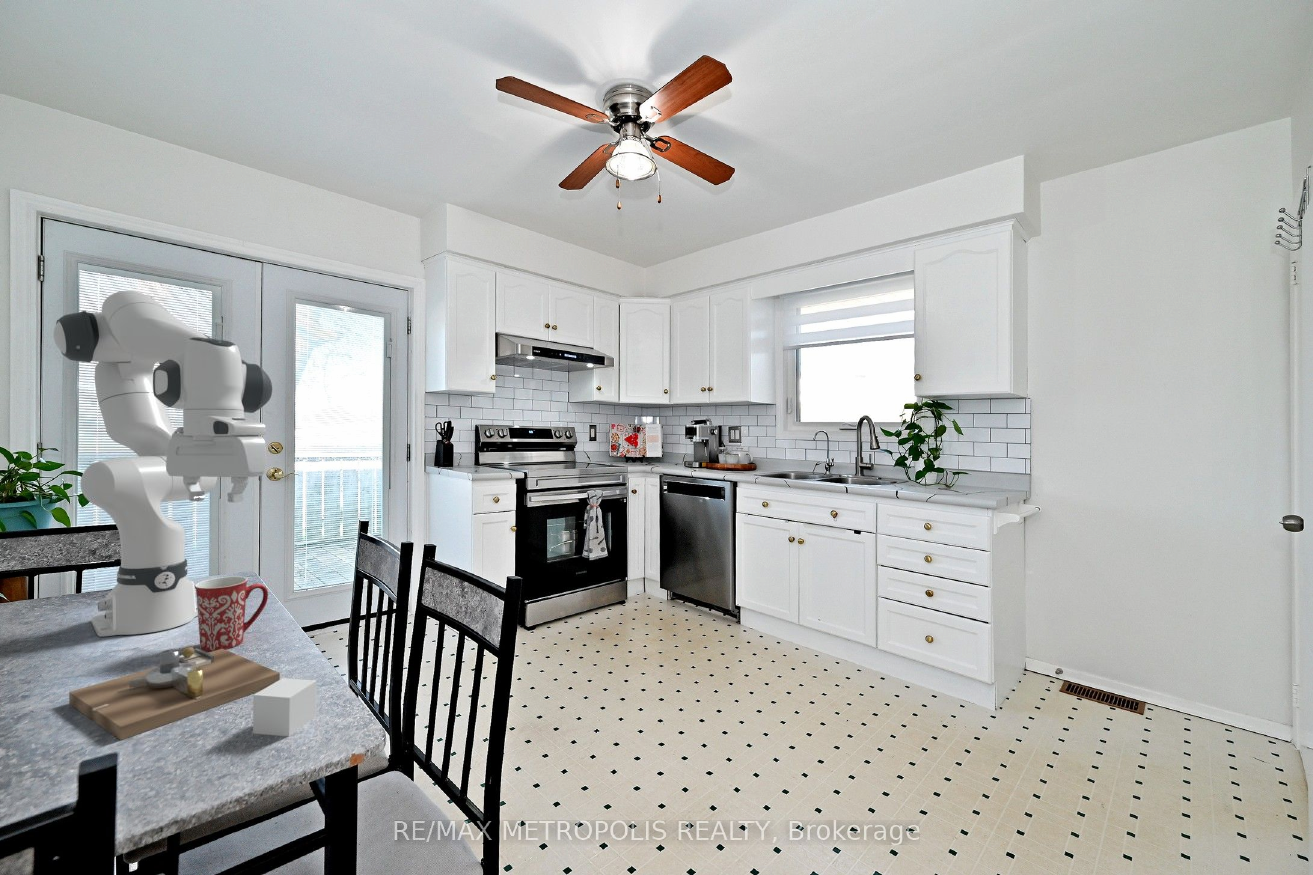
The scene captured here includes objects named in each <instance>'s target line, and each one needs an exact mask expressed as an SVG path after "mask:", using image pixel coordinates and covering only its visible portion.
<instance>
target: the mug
mask: <svg viewBox="0 0 1313 875" xmlns="http://www.w3.org/2000/svg"><path fill="white" fill-rule="evenodd" d="M248 582H249V578H248V577H247V576H246V577H245V576H241V575H239V576H238V575H237V576H235V575H234V576H232V575H231V576H223V577H215V578H210V579H206V580H203V581H202V580H201V581H199V582H197V583H194V590H195V597H196V608H197V610H198V616H197V622H198V623H197V624H198V635H199V649H200V650H202V651H205V652H212V651H216V650H220V649H224V650H228V649H231V648H235V647H237V646H238V645H241V644H242V643H243V642H244V637H245V636H244V635H245V634H244V633H245V632H246V631H247V630H248V629H249V628H250V627H251V626H252V625H253V624H254V622H255V621H256V620H257V619H258V617H260V615H261V613H262V612H263V610H264V608H265V607H266V605H267V602H268V598H269V590H268V589H267V587H266V586H265V585H263V584H261V583H254V584H251V585H248V586H247V584H248ZM257 589H261V591H262V599H261V603H260V604H259V606H258V608H257V609H256V611H255V612H254V613H253V615H252V616H251V617H249V619H248V620H247V621H246V622H245V617H246V616H245V614H246V603H247V602H246V600H247V599H248V598H249V596H250V594H251V593H252V591H254V590H257Z"/></svg>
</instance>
